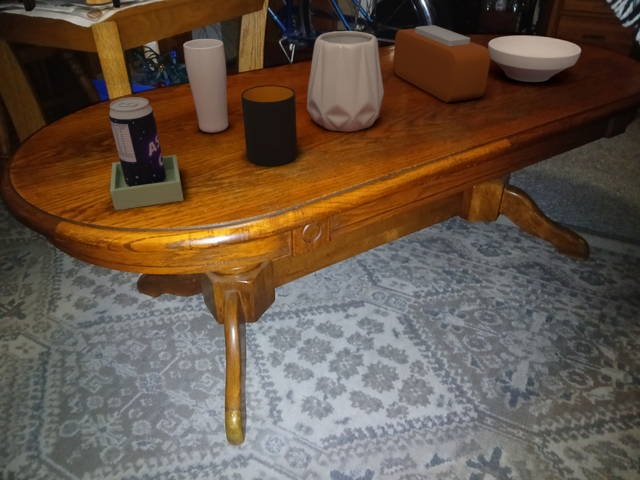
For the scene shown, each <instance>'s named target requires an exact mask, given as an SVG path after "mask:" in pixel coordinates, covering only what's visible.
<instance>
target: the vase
mask: <svg viewBox="0 0 640 480" xmlns="http://www.w3.org/2000/svg"><path fill="white" fill-rule="evenodd" d="M379 51H380V50H379V42H378V39H377V37H376V36H375V35H374V34H371V33H368V32H362V31H355V30H342V31H341V30H340V31H337V30H336V31H335V30H334V31H329V32H325V33H322V34H320V35H319V36H317V38H316V39H315V41H314V45H313V51H312V59H311V64H310V73H309V77H308V83H307V91H306V92H307V94H306V96H307V97H306V109H307V112H308V114H309V115H310V118H311V119H312V120H313V122H315V124H317V125H319V126H321V127H322V128H324V129H325V130H327V131H333V132H344V133H345V132H346V133H352V132H357V131H360V130H364V129H368V128H370V127H372V125H374V123H375V122H376V120H377V119H379V117H380V113H381V107H382V104H383V100H384V95H385V90H384V85H383V83H384V82H383V76H382V70H381V60H380V52H379Z"/></svg>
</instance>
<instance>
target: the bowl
mask: <svg viewBox="0 0 640 480" xmlns="http://www.w3.org/2000/svg"><path fill="white" fill-rule="evenodd" d="M487 49H488V50H489V52H490V56H491V57H490V60H492V61H493V62H494V63H495V64H496V65H497V66H498V67H499V68H500V69H501V70H502V71H503V72H504V74H505V76H506V77H507V78H510V79H512V80H514V81H515V80H516V81H520V82H529V83H540V82H545V81H548V80H550V78H551V77H553V76H554V75H556V74H559V73H560V72H563V71H565V70H566V69H567V68H570V67H572V66H575V65H576V64H577V62H578V60H579V58H580V56H581V53H582V48H581V47H580V46H579V45H577V44H576V43H574V42H570V41H568V40H563V39H559V38H554V37H547V36H540V35H506V36H500V37H495V38H493V39H491V40H490V41H489V42H488V43H487Z"/></svg>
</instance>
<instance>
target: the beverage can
mask: <svg viewBox="0 0 640 480" xmlns="http://www.w3.org/2000/svg"><path fill="white" fill-rule="evenodd" d="M109 108H110V110H109V113H108V118H109V122H110V126H111V130H112V135H113V138H114V143H115V146H116V151H117V154H118V159H119V162H120V163H121V167H122V171H123V175H124V179H125V183H126V184H127V185H128V186H130V187H132V186H139V185H146V184H154V183H161V182H163V181H164V180H165V178H166V173H165V168H164V163H163V152H162V148H161V143H160V138H159V132H158V128H157V122H156V117H155V112H154V109H153V107H152V106H151V105H150V101H149V100H148V99H147V98H145V97H139V96H137V97H136V96H134V97H133V96H132V97H123V98H119V99H117V100H114V101H112V102H111V103H110V104H109Z"/></svg>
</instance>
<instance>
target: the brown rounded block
mask: <svg viewBox="0 0 640 480" xmlns="http://www.w3.org/2000/svg"><path fill="white" fill-rule="evenodd" d="M393 49H394V50H393V63H392V64H393V65H392V67H393V68H392V69H393V72H394V74H395V75H396V76H397V77H399V78H401V79H402V80H404V81H406V82H408V83H410V84H411V85H413V86H415V87H416V88H419V89H420V90H423V91H424V92H425V93H428V94H430V95H431V96H433V97H435V98H437V99H438V100H441V101H442V102H444V103H447V104H449V103H454V102H455V103H456V102H460V101H467V100H473V99H479V98H482V96H483V95H484V94H485V92H486V87H487V81H488V75H489V71H490V65H491V59H490V57H491V56H490V52H489V50H488V47H486V46H483V45H481V44H477V43H475V42H472V41H471V37H468V36H465V35H463V34H460V33H457V32H454V31H452V30H448V29H446V28H443V27H440V26H437V25H434V24H431V25H421V26H416V27H414V28H407V29H405V28H404V29H399V30H397V32H396V33H395V38H394V48H393Z"/></svg>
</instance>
